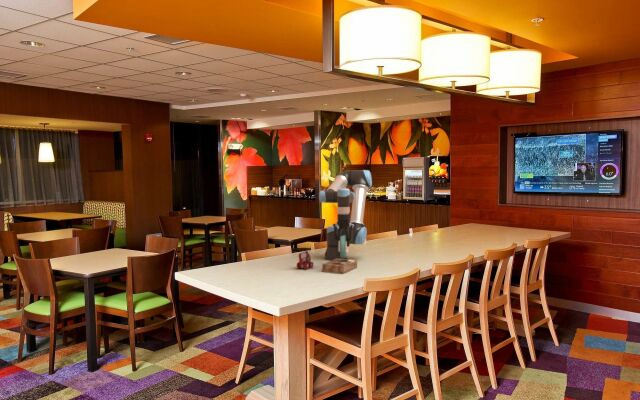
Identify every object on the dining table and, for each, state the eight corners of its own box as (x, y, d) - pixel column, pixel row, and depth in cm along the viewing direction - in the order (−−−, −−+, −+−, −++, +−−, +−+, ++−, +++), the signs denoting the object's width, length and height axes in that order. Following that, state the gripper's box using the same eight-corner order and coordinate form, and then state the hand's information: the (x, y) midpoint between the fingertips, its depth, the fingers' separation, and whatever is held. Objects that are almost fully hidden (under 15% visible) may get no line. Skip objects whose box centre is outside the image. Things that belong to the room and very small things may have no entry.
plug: (339, 257, 295) (339, 236, 294) (341, 256, 298) (341, 235, 298) (345, 257, 293) (345, 236, 292) (347, 256, 296) (347, 235, 296)
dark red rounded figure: (315, 267, 300) (315, 250, 299) (304, 270, 289) (304, 253, 289) (305, 266, 303) (305, 249, 303) (295, 269, 293) (294, 252, 292)
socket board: (322, 271, 286) (322, 263, 286) (336, 265, 304) (336, 257, 304) (343, 273, 280) (343, 265, 280) (357, 267, 298) (357, 259, 297)
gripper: (328, 213, 295) (328, 251, 296) (353, 214, 287) (353, 253, 288) (333, 212, 301) (333, 249, 303) (358, 213, 294) (358, 251, 295)
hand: (343, 251), depth 295 cm, fingers closed on plug, 4 cm apart
